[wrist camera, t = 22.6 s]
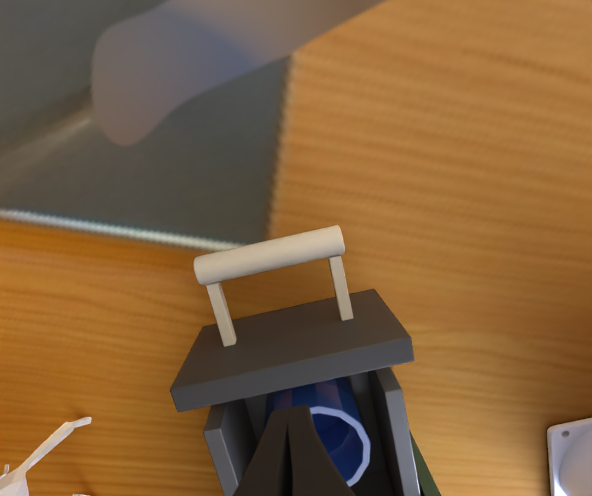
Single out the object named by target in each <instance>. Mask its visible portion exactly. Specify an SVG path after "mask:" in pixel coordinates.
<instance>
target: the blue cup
mask: <svg viewBox="0 0 592 496" xmlns="http://www.w3.org/2000/svg"><path fill="white" fill-rule="evenodd" d="M304 404H306V405H308V406H309V407H310V411H311V414H312V418H313V422H314V426H315V429H316V431H317V433H318V436H319V438H320V440H321V442H322V444H323V445H324V447H325V449H326V451H327V453H328V455H329V456H330V458H331V460H332V461H333V463H334V465H335V466H336V468H337V470H338V471H339V473H340V474H341V476H342V477H343V479H344V480H345V481H346V483H347V484H348V486H349V487H351V486H352V485H354V484H355V483H357V482H358V481H359V479H360V478H361V476H362V474H363V473H364V471H365V470H366V468H367V467H368V465H369V463H370V450H371V441H370V438H369V435H368V431H367V428H366V425H365V422H364V419H363V416H362V413H361V409H360V406H359V403H358V400H357V397H356V394H355V392H354V390H353V388H352V386H351V384H350V382H349V381H348V380H347V379H346V378H345V377H339V378H334V379H330V380H325V381H321V382H316V383H311V384H307V385H302V386H298V387H293V388H289V389H284V390H279V391H275V392H270V393H268V395H267V398H266V408H265V420H264V430H265V427H266V424H267V422H268V419H269V416H270V414H271V413H272V412H273V411H277V410H282V409H286V408H291V407H295V406H299V405H304ZM263 432H264V431H263Z"/></svg>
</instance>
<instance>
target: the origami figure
mask: <svg viewBox="0 0 592 496" xmlns="http://www.w3.org/2000/svg"><path fill="white" fill-rule="evenodd" d="M90 423H91V417H84V418H81V419H78V420H76V421H73V422H65V423H64V424H63V425H62V426H61V427H60V428H59V429H57V430H56V431H55V432H54V433H53V434H52V435H51V436H50V437H49V438H48V439H47V440H45V441H44V442H43V443H42V444H41V445H40V446H39V447H38V448H37V449H36V450H35V451H34V452H33V453H32V454H31V455H30V456H29V457H28V458H27V459H26V460H25V461H24V462H23V463H22V464H21V465H20V467H18V468H17V469H15V470H14V471H12V472H10V473H9V474H8V471H9V464H6V465H5V468H4V472H3V475H2V476H0V496H29V491H28V486H27V481H26V476H25V474H26V471H28V470H29V469H30V468H31V467H32V466H33V465H35V464H36V463H37V462H38V461H39V460H40V459H41V458H43V457H44V456H45V455H46V454H47V453H48V452H49V451H51V450H52V449H53V448H54V447H55V446H56V445H57V444H59V443H60V442H61V441H62V440H63V439H64V438H66V437H67V436H68V435H69V434H70V433H71V432H72V431H73V429H74V428H76V427H80V426H83V425H86V424H90ZM73 496H88V495H82V494H73Z"/></svg>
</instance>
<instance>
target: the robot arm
mask: <svg viewBox="0 0 592 496" xmlns="http://www.w3.org/2000/svg"><path fill="white" fill-rule="evenodd" d="M547 440H548V456H549V471H550V486H551V496H592V418H587V419H583V420H578V421H573V422H569V423H564V424H559V425H555V426H551V427H550V428H549V429H548V431H547ZM233 496H356V495H355V494H354V492H353V491H352V490H351V488H350V487H349V486H348V484H347V483H346V481H345V480H344V479H343V477H342V476H341V474H340V473H339V471H338V470H337V468H336V466H335V465H334V463H333V461H332V460H331V458H330V456H329V455H328V453H327V451H326V449H325V447H324V445H323V444H322V442H321V440H320V438H319V436H318V433H317V431H316V429H315V426H314V422H313V418H312V414H311V411H310V407H309V406H308V405H306V404H304V405H299V406H295V407H291V408H286V409H282V410H277V411H273V412H272V413H271V414H270V416H269V419H268V422H267V424H266V427H265V430H264V432H263V434H262V437H261V439H260V442H259V444H258V446H257V448H256V451H255V453H254V455H253V457H252V459H251V462H250V464H249V466H248V468H247V470H246V471H245V473H244V475H243V477H242V479H241V481H240V483H239V485H238V487H237V489H236V490H235V492H234V494H233Z"/></svg>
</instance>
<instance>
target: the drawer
mask: <svg viewBox="0 0 592 496" xmlns="http://www.w3.org/2000/svg"><path fill="white" fill-rule="evenodd" d="M344 253H345V246H344V241H343V236H342V233H341V230H340V227H339V226H338V225H335V226H331V227H326V228H322V229H318V230H313V231H309V232H304V233H300V234H295V235H291V236H287V237H282V238H278V239H273V240H269V241H264V242H260V243H256V244H251V245H247V246H242V247H238V248H234V249H229V250H225V251H220V252H216V253H211V254H207V255H203V256H198V257H196V258H195V259H194V272H195V276H196V278H197V281H198V282H199V284H200V285H207V286H206V288H207V291H208V295H209V298H210V301H211V305H212V308H213V311H214V315H215V318H216V321H217V324H213V325H208V326H204V327H202V329H201V331H200V333H199V335H198V337H197V339H196V341H195V343H194V344H193V346H192V348H191V350H190V352H189V354H188V356H187V358H186V360H185V362H184V363H183V365H182V367H181V369H180V371H179V373H178V375H177V377H176V379H175V381H174V382H173V384H172V386H171V388H170V392H171V395H172V398H173V401H174V404H175V406H176V409H177V412H183V411H188V410H192V409H197V408H201V407H206V406H211V408H210V411H209V415H208V418H207V421H206V424H205V427H204V431H203V433H204V436H205V439H206V442H207V445H208V448H209V451H210V454H211V457H212V460H213V463H214V466H215V469H216V472H217V475H218V478H219V481H220V484H221V487H222V490H223V493H224V496H233V494H234V492H235V490H236V489H237V487H238V485H239V483H240V481H241V479H242V477H243V475H244V473H245V471H246V470H247V468H248V466H249V464H250V462H251V459H252V457H253V455H254V453H255V451H256V448H257V446H258V444H259V442H260V439H261V437H262V434H263V431H264V420H265V408H266V398H267V395H268V393H270V392H275V391H279V390H284V389H289V388H293V387H298V386H302V385H307V384H311V383H316V382H321V381H325V380H330V379H334V378H339V377H345V378H346V379H347V380H348V381H349V382H350V384H351V386H352V388H353V390H354V392H355V394H356V397H357V400H358V403H359V406H360V409H361V413H362V416H363V419H364V422H365V425H366V428H367V431H368V435H369V438H370V441H371V450H370V463H369V465H368V467H367V468H366V470H365V471H364V473H363V474H362V476H361V478H360V479H359V481H358V482H357V483H355V484H354V485H352V486H351V487H350V488H351V490H352V491H353V492H354V494H355V495H356V496H421V495H420V490H419V484H418V478H417V472H416V467H415V461H414V455H413V449H412V444H411V438H410V432H409V426H408V421H407V415H406V409H405V403H404V398H403V392H402V388H401V386H400V384H399V383H398V381H397V379H396V377H395V375H394V373H393V371H392V370H391V368H390V366H394V365H399V364H403V363H408V362H412V361H414V353H413V346H412V340H411V337H410V335H409V334H408V333H407V331H406V330H405V329H404V327H403V326H402V325H401V323H400V322H399V321H398V319H397V318H396V317H395V315H394V314H393V313H392V312H391V310H390V309H389V308H388V306H387V305H386V304H385V302H384V301H383V300H382V298H381V297H380V296H379V294H378V293H377V292H376V290H375V289H370V290H366V291H361V292H357V293H352V294H349V293H348V288H347V283H346V278H345V273H344V268H343V263H342V258H341V255H340V254H344ZM327 257H328V261H329V266H330V271H331V275H332V280H333V285H334V290H335V294H336V297H334V298H330V299H325V300H321V301H316V302H312V303H307V304H303V305H298V306H294V307H289V308H285V309H280V310H276V311H271V312H267V313H262V314H258V315H253V316H249V317H244V318H240V319H235V320H231V317H230V314H229V310H228V307H227V303H226V300H225V296H224V293H223V290H222V286H221V283H220V281H225V280H229V279H234V278H238V277H243V276H247V275H251V274H256V273H260V272H265V271H269V270H274V269H278V268H283V267H287V266H291V265H296V264H300V263H305V262H309V261H314V260H318V259H323V258H327Z"/></svg>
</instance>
